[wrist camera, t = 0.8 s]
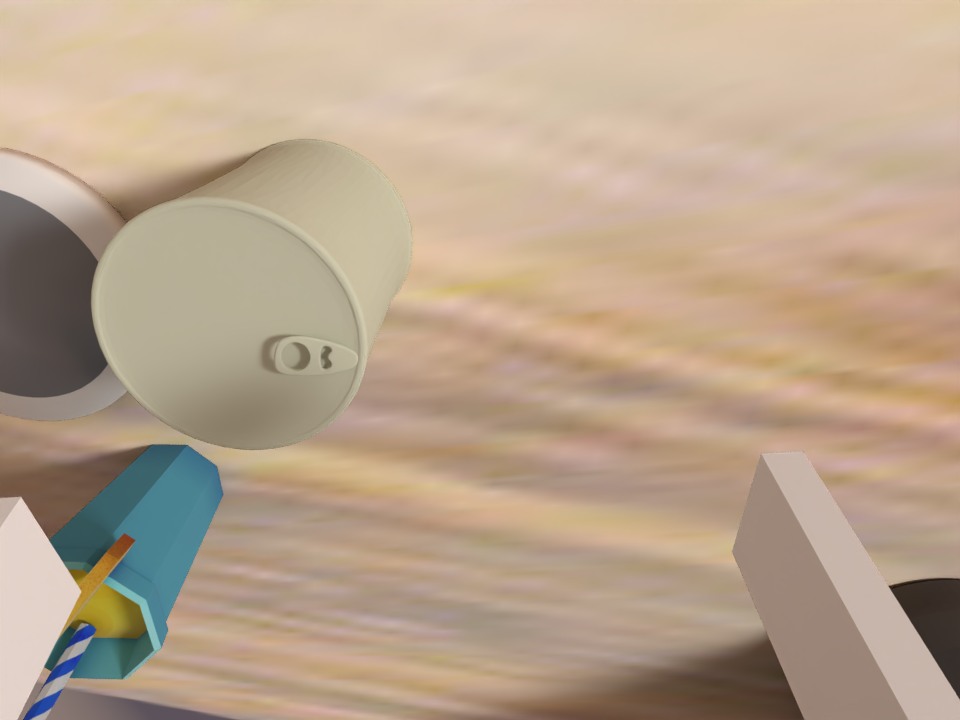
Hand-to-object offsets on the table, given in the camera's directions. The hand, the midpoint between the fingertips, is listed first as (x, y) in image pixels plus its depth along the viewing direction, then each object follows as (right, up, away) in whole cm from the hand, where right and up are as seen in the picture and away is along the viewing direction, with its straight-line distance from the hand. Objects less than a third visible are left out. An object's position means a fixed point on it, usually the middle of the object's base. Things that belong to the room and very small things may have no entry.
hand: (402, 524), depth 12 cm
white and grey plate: (-22, +7, +22) cm, 31 cm away
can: (-6, +9, +20) cm, 23 cm away
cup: (-17, -5, +27) cm, 32 cm away
